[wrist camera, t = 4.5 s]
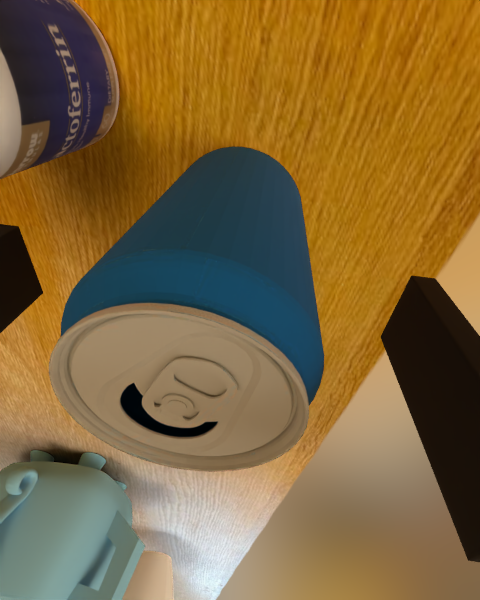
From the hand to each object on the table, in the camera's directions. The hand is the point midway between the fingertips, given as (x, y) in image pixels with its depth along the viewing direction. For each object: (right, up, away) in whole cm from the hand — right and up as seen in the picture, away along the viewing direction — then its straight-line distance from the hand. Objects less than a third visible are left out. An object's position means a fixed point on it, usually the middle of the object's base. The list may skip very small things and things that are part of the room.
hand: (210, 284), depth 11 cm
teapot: (-19, -23, +29) cm, 42 cm away
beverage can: (+1, +4, +6) cm, 7 cm away
